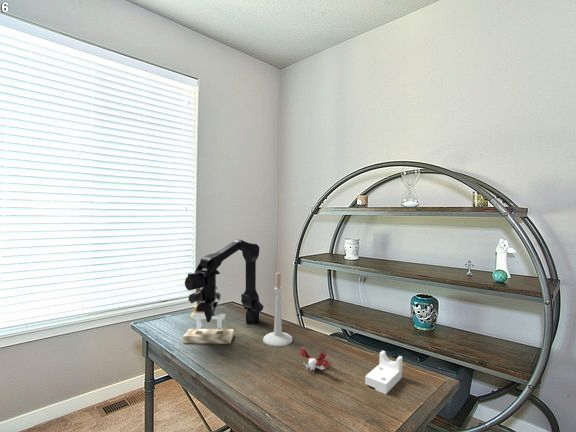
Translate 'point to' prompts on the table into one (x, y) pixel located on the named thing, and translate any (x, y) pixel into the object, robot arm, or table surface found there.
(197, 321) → the steel clip
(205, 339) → the maple rail
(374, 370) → the bracket
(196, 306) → the hand bell
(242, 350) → the table surface
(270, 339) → the candlestick
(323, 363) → the figurine
